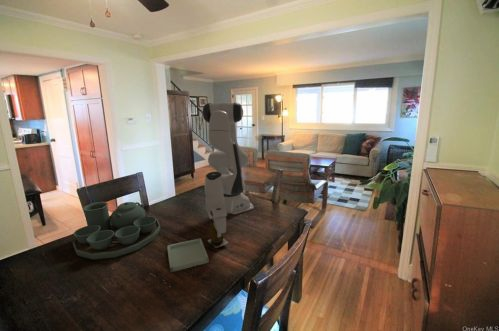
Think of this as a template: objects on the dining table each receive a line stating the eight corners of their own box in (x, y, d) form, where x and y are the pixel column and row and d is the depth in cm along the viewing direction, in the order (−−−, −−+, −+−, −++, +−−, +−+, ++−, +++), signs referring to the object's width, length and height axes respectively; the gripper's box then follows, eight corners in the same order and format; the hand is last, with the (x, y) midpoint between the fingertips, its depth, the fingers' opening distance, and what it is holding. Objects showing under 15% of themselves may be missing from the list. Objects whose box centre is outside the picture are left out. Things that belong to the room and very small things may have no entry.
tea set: (58, 268, 101) (50, 233, 97) (91, 225, 138) (86, 199, 134) (157, 251, 111) (153, 219, 107) (163, 216, 149) (160, 191, 145)
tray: (200, 241, 119) (200, 238, 118) (209, 262, 102) (208, 258, 102) (167, 249, 113) (167, 245, 112) (170, 272, 96) (170, 268, 96)
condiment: (219, 235, 121) (218, 214, 118) (228, 242, 114) (227, 220, 111) (207, 240, 116) (205, 218, 113) (215, 248, 110) (214, 225, 107)
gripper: (204, 199, 119) (206, 224, 123) (214, 216, 101) (215, 245, 105) (216, 197, 122) (217, 221, 125) (228, 213, 103) (229, 241, 107)
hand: (217, 232), depth 115 cm, fingers closed on condiment, 6 cm apart
